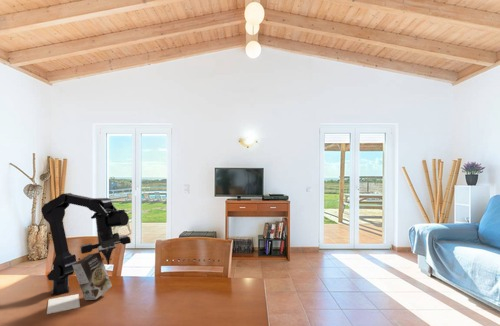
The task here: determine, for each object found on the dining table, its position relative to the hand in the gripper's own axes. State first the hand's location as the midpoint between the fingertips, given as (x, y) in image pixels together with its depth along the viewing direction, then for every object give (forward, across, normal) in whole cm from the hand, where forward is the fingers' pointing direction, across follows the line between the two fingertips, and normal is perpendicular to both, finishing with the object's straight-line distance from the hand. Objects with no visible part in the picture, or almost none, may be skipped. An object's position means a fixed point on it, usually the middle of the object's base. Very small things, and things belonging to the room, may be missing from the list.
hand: (108, 264), depth 123 cm
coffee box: (+11, -4, +1) cm, 12 cm away
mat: (+11, -17, +2) cm, 20 cm away
